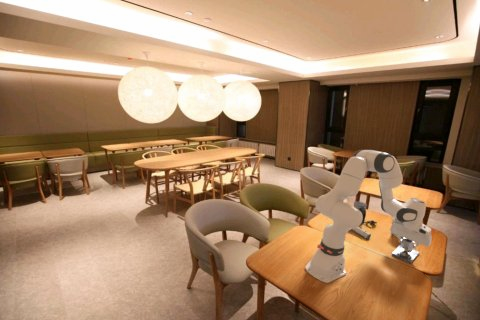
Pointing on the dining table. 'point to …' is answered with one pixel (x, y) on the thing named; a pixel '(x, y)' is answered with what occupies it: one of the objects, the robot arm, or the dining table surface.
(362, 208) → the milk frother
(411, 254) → the valve base
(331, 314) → the dining table surface
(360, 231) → the grey brown bar
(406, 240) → the coupling
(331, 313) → the dining table surface
